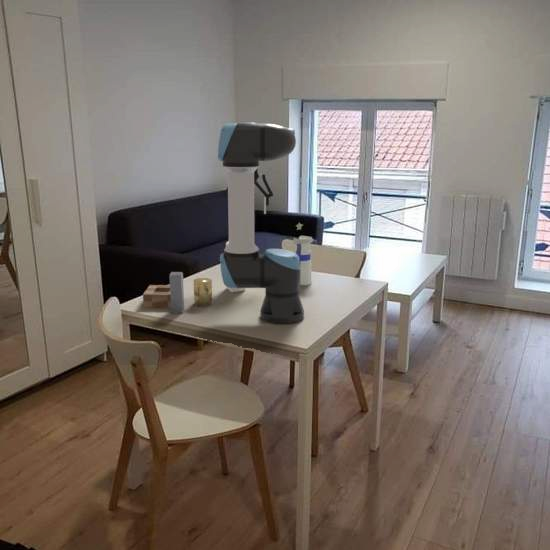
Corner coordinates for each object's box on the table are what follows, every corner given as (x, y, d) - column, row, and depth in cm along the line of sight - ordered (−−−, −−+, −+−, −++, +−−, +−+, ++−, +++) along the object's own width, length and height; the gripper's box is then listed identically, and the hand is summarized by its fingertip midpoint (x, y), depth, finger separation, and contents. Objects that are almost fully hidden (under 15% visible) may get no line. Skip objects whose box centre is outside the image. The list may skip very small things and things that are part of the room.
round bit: (211, 306, 206) (210, 282, 204) (193, 306, 206) (192, 282, 204) (213, 300, 213) (212, 277, 210) (195, 300, 213) (194, 277, 210)
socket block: (176, 307, 205) (176, 294, 203) (143, 307, 204) (142, 294, 203) (181, 297, 216) (181, 285, 215) (150, 297, 216) (149, 285, 215)
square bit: (182, 313, 199) (180, 275, 195) (171, 313, 199) (169, 275, 195) (184, 309, 203) (182, 272, 199) (173, 309, 203) (171, 272, 199)
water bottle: (287, 283, 236) (288, 224, 229) (300, 278, 242) (301, 221, 236) (303, 286, 231) (304, 226, 224) (315, 282, 237) (317, 223, 230)
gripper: (278, 161, 234) (278, 212, 240) (218, 160, 234) (219, 211, 239) (279, 162, 227) (278, 214, 232) (216, 162, 227) (218, 214, 232)
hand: (248, 213), depth 236 cm, fingers open, 13 cm apart
